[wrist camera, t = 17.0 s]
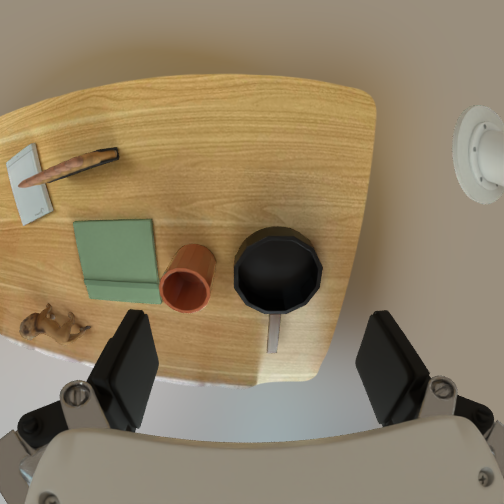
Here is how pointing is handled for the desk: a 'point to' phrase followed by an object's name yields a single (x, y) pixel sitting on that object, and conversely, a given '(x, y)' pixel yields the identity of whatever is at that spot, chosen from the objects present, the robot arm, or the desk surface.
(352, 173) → the desk surface
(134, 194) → the desk surface
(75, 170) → the ammunition clip
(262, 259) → the pan
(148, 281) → the notepad
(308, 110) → the desk surface
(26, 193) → the hard drive
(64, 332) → the lion figurine
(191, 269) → the cup
